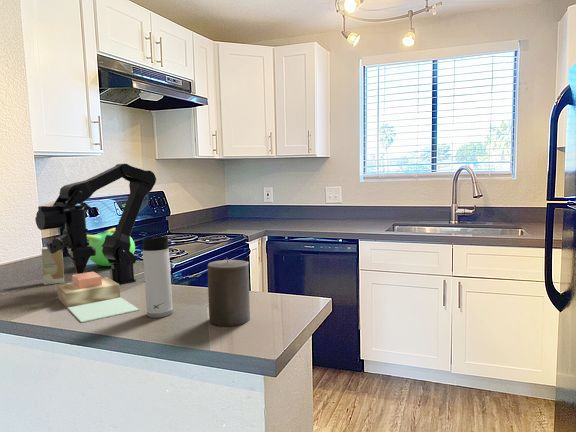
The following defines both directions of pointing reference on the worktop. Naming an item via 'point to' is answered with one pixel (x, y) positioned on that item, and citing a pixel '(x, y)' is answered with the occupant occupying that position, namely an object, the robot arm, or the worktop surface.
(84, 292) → the tan block
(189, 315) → the worktop surface
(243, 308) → the pillar candle
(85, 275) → the salmon pink block
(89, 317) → the mat
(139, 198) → the robot arm
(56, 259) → the skincare box
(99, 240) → the toy bird
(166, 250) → the travel mug
